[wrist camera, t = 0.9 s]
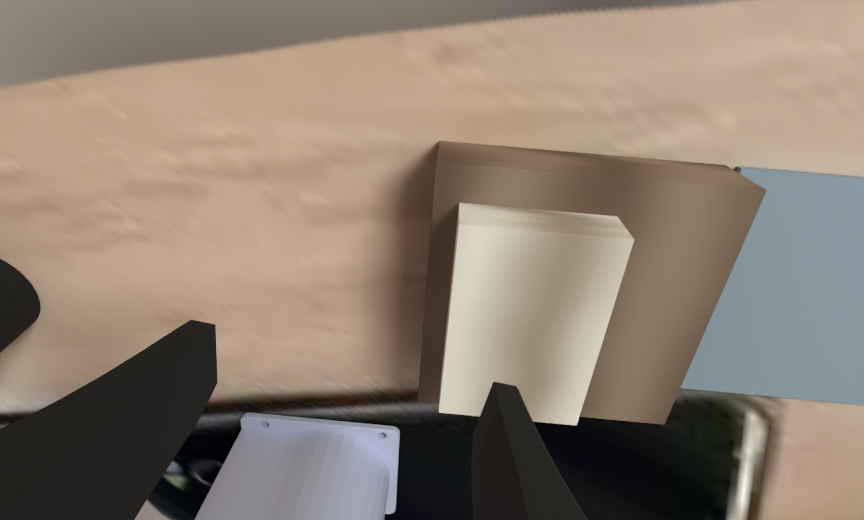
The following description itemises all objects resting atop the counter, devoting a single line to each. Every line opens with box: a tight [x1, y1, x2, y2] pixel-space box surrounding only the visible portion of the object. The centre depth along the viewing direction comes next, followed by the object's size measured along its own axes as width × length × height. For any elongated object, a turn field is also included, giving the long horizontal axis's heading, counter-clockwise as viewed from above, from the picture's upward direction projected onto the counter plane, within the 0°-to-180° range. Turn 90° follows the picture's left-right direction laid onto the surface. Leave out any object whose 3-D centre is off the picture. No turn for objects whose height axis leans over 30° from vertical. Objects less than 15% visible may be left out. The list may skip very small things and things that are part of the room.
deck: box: [418, 141, 767, 424], centre depth 21 cm, size 12×12×3 cm
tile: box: [439, 203, 634, 425], centre depth 19 cm, size 6×9×2 cm, turn 176°
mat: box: [680, 166, 864, 405], centre depth 22 cm, size 14×12×1 cm
